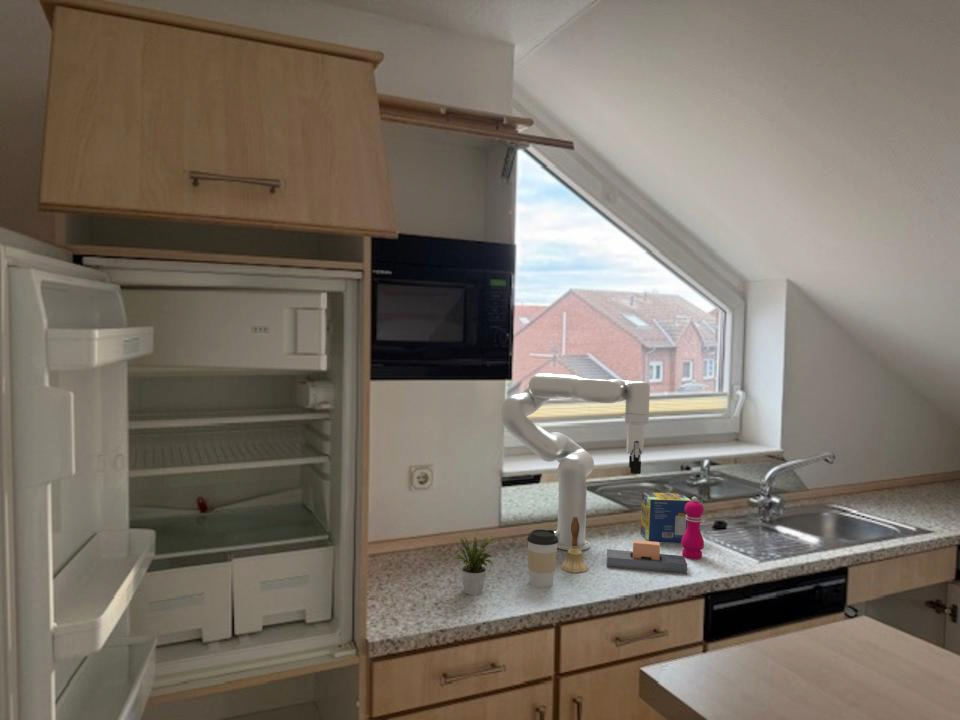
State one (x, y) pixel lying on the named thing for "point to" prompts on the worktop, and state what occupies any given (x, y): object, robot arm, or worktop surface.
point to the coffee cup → (542, 557)
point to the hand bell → (574, 552)
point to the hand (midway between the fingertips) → (634, 470)
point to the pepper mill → (693, 530)
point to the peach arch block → (646, 549)
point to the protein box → (663, 517)
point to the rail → (646, 562)
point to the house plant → (474, 566)
